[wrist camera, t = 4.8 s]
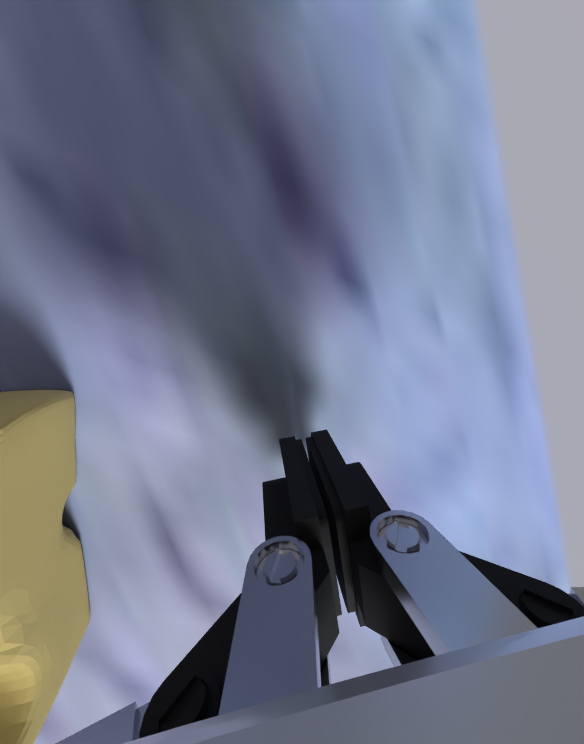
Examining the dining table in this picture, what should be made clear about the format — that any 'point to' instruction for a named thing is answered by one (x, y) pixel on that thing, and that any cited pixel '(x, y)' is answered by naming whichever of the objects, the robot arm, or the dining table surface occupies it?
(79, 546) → the cheese
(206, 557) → the dining table surface
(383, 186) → the dining table surface
